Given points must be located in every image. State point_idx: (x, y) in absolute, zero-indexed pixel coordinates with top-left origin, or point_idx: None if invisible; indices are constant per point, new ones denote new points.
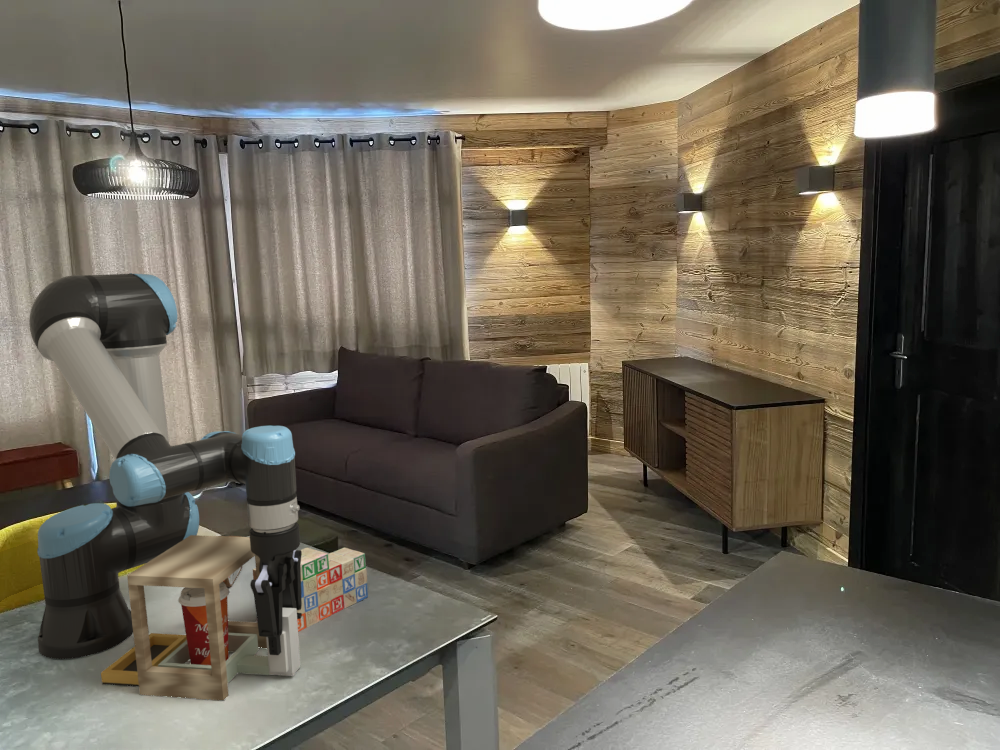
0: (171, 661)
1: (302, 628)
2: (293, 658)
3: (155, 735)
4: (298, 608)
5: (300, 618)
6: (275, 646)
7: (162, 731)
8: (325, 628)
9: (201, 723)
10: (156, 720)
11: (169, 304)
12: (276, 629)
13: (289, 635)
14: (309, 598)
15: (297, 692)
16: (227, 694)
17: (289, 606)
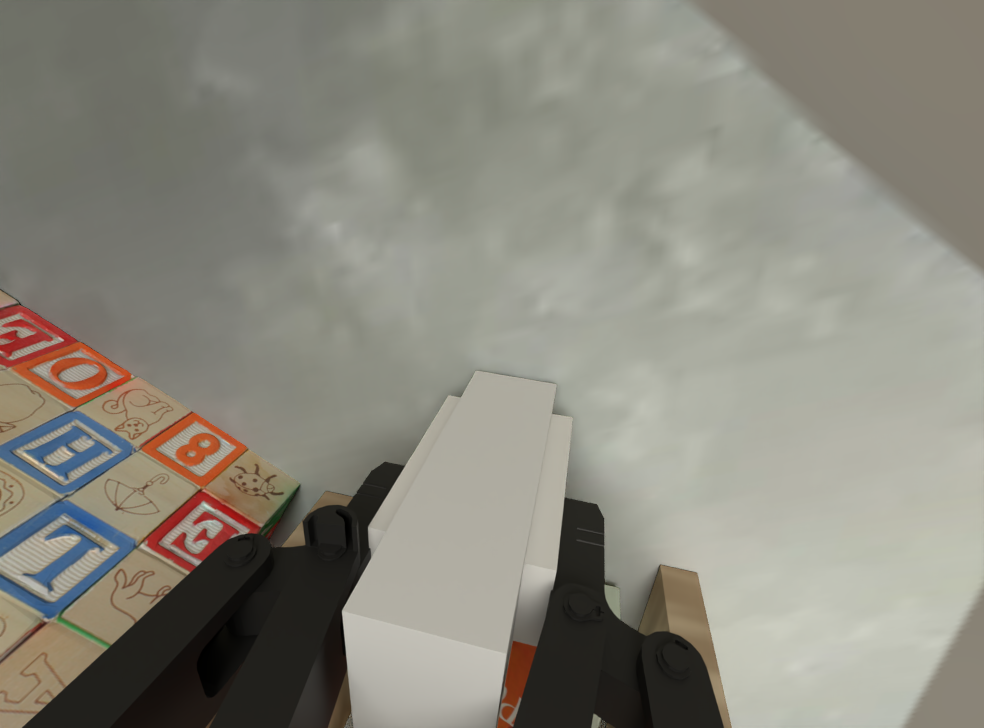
0: None
1: (205, 424)
2: (526, 417)
3: (877, 702)
4: (268, 557)
5: (341, 505)
6: (603, 556)
7: (857, 690)
8: (173, 341)
9: (840, 608)
10: (781, 708)
11: None
12: (651, 674)
13: (530, 522)
14: (57, 466)
15: (671, 332)
16: (669, 572)
17: (327, 656)
